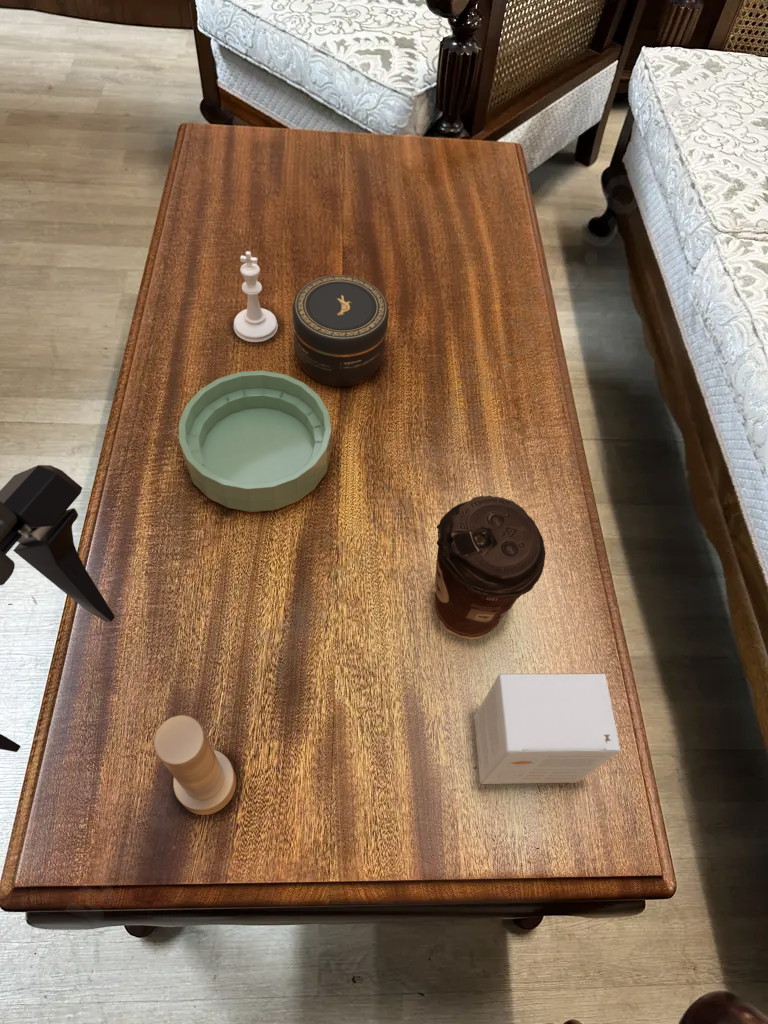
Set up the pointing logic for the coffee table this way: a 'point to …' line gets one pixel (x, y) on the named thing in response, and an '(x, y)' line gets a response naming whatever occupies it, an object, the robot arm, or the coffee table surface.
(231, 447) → the bowl
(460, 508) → the coffee cup
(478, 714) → the small box
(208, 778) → the muddler
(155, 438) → the coffee table surface
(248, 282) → the chess piece
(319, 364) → the jar
